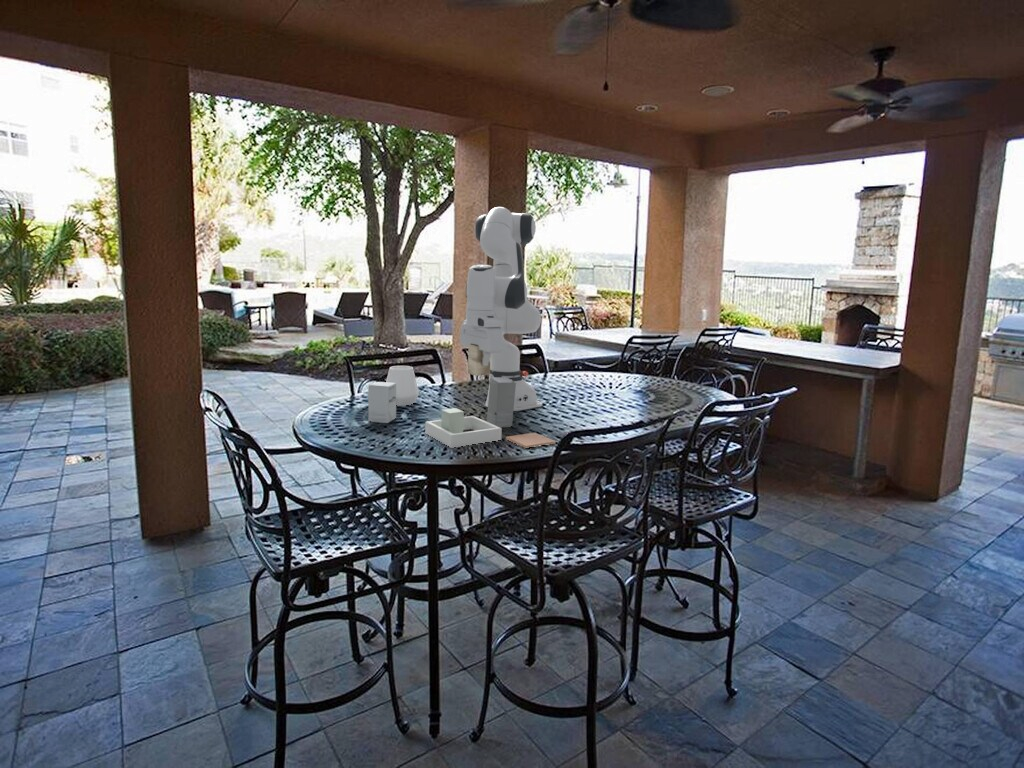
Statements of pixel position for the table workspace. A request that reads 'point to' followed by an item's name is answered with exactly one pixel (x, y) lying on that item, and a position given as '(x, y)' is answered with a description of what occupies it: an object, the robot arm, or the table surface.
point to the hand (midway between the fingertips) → (479, 363)
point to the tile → (530, 440)
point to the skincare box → (501, 401)
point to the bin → (480, 435)
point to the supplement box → (382, 402)
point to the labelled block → (476, 361)
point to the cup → (403, 384)
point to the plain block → (452, 420)
